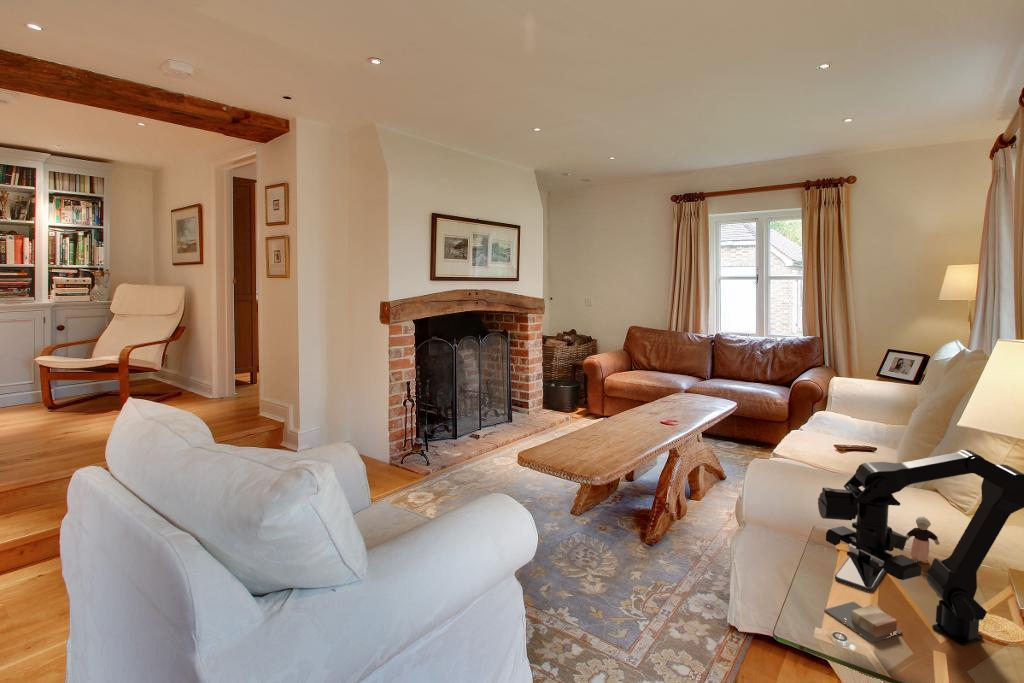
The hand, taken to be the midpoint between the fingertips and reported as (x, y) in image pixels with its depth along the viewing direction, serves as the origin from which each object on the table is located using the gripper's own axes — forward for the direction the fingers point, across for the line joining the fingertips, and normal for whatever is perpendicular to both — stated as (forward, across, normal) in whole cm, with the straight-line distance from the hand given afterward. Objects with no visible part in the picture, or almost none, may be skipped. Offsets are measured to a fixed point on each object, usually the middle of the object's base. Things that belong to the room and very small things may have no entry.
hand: (868, 586), depth 121 cm
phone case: (+10, +16, -18) cm, 25 cm away
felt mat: (+9, +1, 0) cm, 9 cm away
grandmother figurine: (+9, +15, -38) cm, 42 cm away
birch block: (+7, +2, 0) cm, 7 cm away
